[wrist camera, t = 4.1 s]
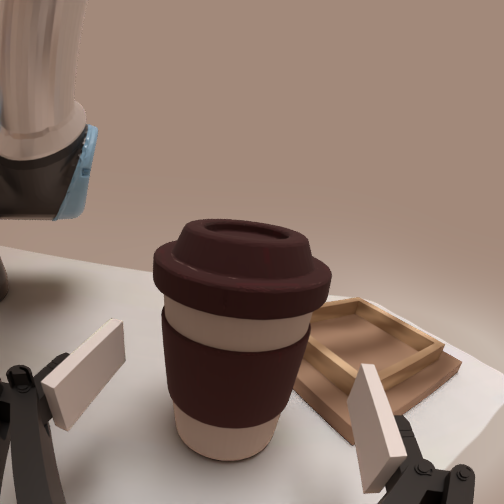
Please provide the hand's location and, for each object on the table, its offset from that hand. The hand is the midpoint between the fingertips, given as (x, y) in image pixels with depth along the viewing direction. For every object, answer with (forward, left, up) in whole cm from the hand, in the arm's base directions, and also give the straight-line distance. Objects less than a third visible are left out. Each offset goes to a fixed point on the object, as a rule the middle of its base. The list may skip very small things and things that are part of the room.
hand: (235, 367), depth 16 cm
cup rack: (-7, +19, -8) cm, 22 cm away
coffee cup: (-3, +1, -9) cm, 9 cm away
